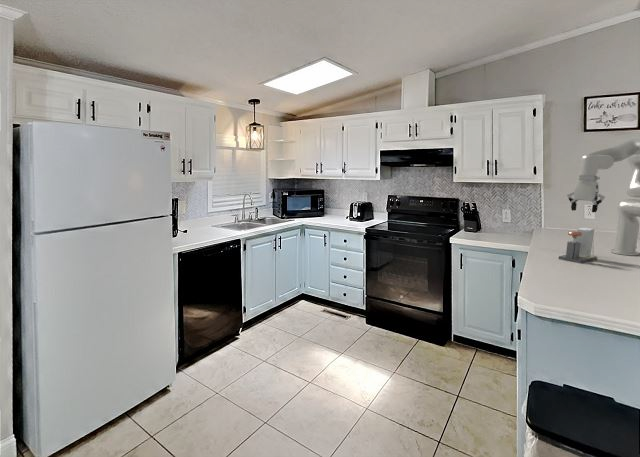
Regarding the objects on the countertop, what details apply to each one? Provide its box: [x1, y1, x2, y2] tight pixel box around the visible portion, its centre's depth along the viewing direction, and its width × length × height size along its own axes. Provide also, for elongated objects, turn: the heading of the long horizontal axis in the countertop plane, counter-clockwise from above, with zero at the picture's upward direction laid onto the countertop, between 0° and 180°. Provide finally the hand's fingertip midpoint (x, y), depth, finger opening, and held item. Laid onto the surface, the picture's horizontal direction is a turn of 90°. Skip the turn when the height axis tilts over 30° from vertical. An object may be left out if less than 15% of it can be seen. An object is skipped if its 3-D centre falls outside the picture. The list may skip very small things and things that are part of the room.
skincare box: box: [576, 227, 595, 257], centre depth 197 cm, size 8×6×15 cm
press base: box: [558, 240, 598, 264], centre depth 195 cm, size 17×11×10 cm, turn 119°
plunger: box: [567, 230, 582, 243], centre depth 192 cm, size 6×6×10 cm
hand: (583, 211), depth 192 cm, fingers open, 9 cm apart
